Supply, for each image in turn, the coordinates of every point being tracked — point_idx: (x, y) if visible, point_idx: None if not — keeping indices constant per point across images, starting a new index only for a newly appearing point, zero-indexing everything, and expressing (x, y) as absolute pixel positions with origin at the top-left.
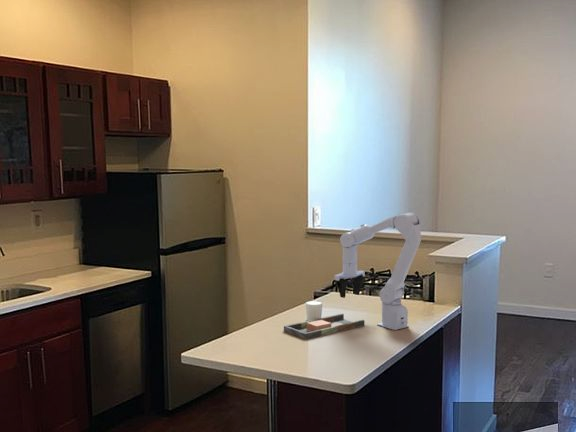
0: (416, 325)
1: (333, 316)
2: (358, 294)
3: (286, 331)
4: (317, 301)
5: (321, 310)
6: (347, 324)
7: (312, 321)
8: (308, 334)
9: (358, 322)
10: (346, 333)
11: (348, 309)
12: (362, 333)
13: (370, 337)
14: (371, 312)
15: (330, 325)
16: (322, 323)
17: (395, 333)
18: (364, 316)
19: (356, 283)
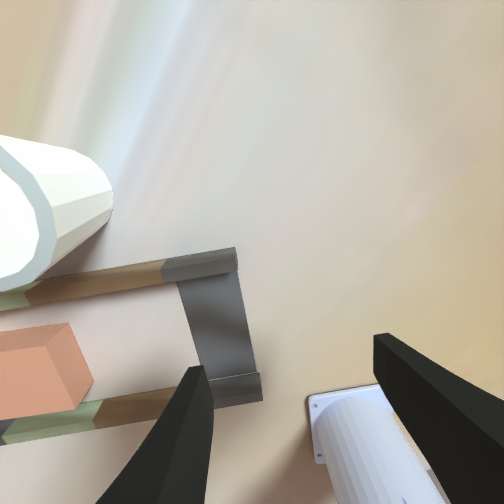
0: None
1: (158, 283)
2: (380, 377)
3: None
4: (17, 181)
5: (74, 247)
6: (158, 417)
7: (3, 308)
8: None
9: (225, 404)
10: (136, 430)
11: (402, 70)
12: None
13: None
14: (450, 215)
15: (77, 400)
16: (28, 399)
17: (294, 477)
18: (361, 265)
19: (469, 478)
